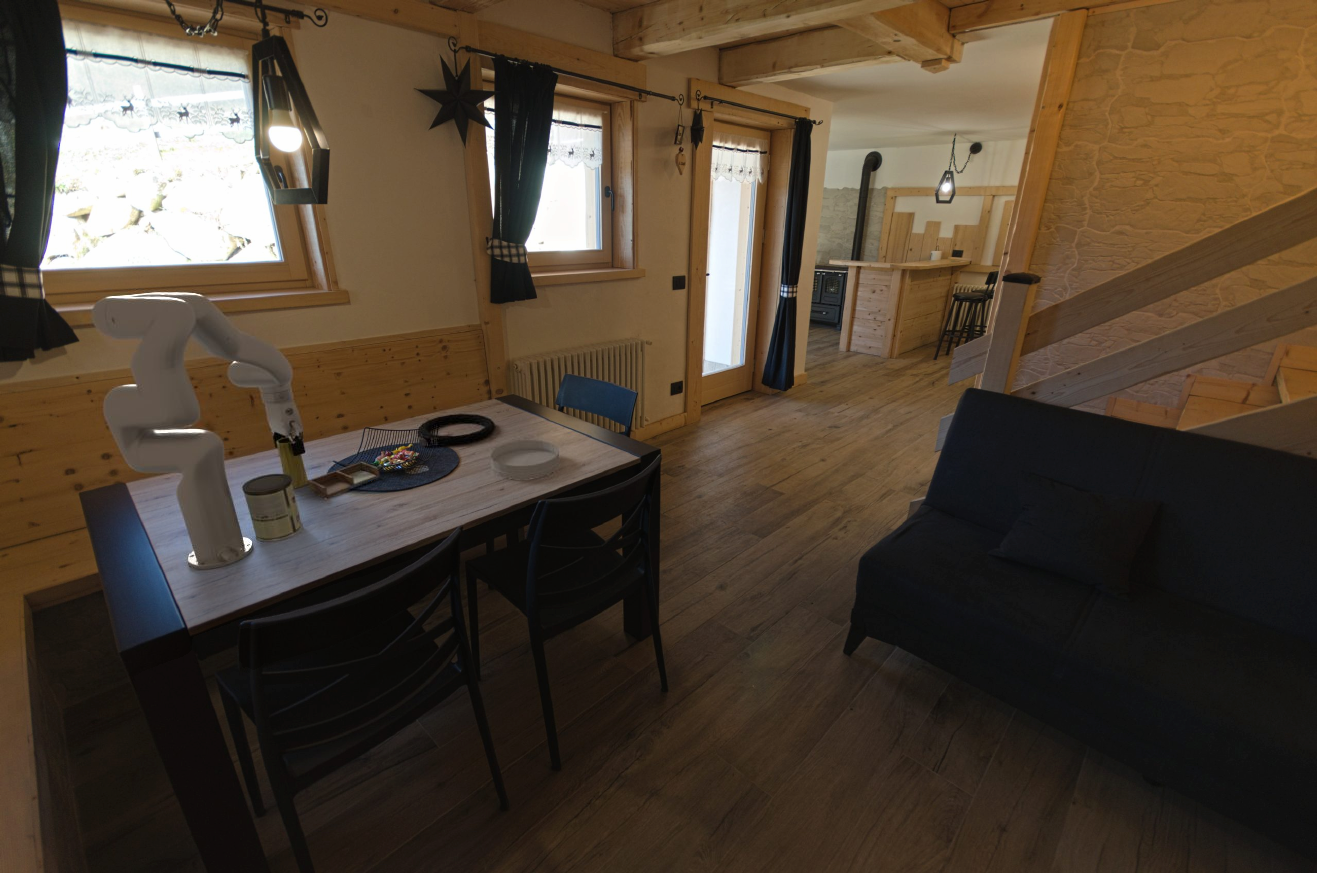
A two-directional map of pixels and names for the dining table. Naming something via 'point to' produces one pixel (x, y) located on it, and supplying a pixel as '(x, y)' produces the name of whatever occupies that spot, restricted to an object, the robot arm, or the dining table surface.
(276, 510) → the coffee can
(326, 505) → the dining table surface
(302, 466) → the vase
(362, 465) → the wooden compartment tray
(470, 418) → the cable lock
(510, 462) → the dish
